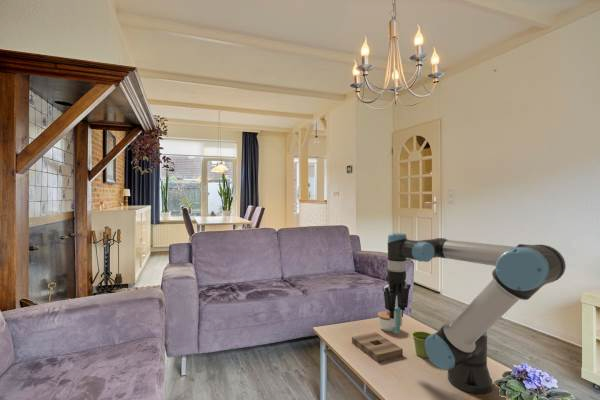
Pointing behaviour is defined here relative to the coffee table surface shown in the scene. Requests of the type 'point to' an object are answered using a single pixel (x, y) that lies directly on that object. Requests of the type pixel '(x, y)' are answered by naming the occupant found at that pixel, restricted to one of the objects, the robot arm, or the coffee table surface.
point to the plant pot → (420, 343)
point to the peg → (397, 321)
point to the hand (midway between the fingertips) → (396, 325)
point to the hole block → (377, 346)
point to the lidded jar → (384, 321)
